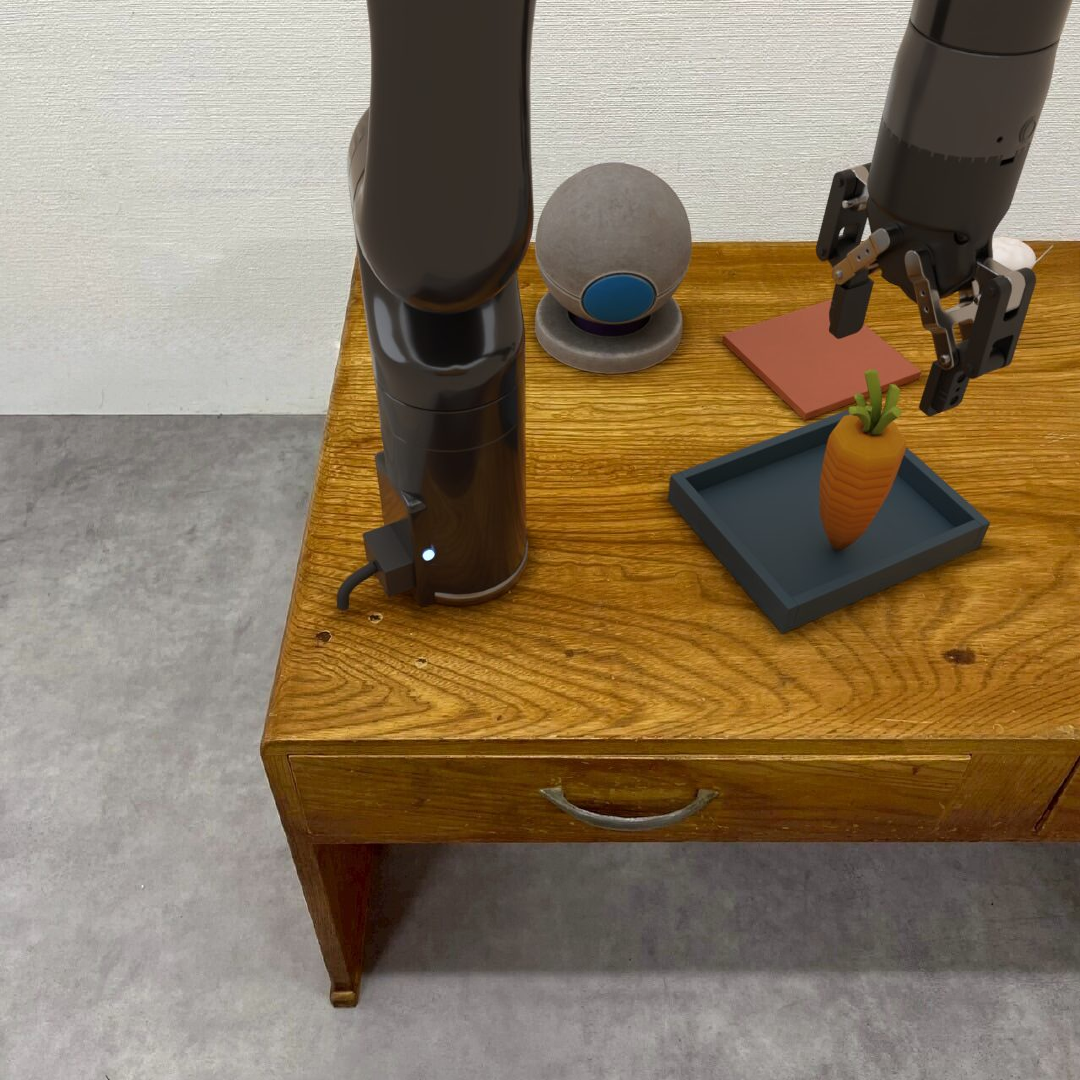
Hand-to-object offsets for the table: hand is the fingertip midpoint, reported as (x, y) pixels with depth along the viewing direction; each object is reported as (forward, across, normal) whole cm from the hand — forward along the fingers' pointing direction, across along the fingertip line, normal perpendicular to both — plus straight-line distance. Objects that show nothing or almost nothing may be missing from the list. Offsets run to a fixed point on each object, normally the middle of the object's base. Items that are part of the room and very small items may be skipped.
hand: (888, 370), depth 69 cm
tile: (+17, -19, +13) cm, 28 cm away
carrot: (+16, 0, 0) cm, 16 cm away
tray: (+16, -3, +1) cm, 17 cm away
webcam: (+17, -31, -1) cm, 35 cm away
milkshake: (+17, -15, +28) cm, 36 cm away
